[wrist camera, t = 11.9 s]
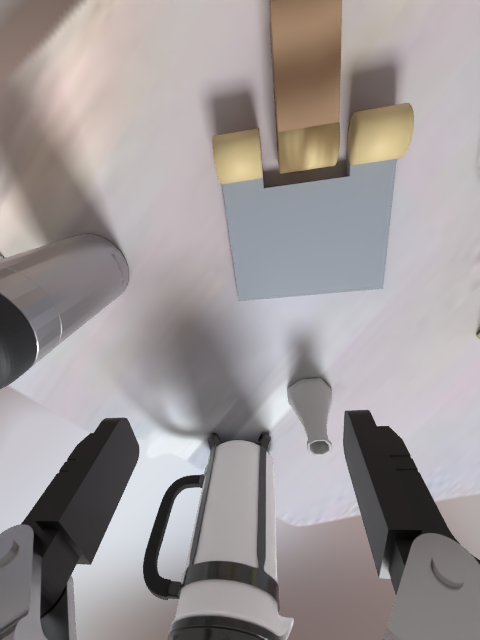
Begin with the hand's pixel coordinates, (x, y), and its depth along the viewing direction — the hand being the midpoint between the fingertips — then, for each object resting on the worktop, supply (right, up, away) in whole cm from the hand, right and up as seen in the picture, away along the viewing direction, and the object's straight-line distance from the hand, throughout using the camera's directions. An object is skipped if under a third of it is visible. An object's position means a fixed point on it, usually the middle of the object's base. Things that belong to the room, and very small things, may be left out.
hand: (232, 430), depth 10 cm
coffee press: (-1, -21, +43) cm, 48 cm away
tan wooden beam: (+7, +26, +18) cm, 32 cm away
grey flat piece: (+8, +16, +23) cm, 29 cm away
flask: (+11, -8, +35) cm, 38 cm away
